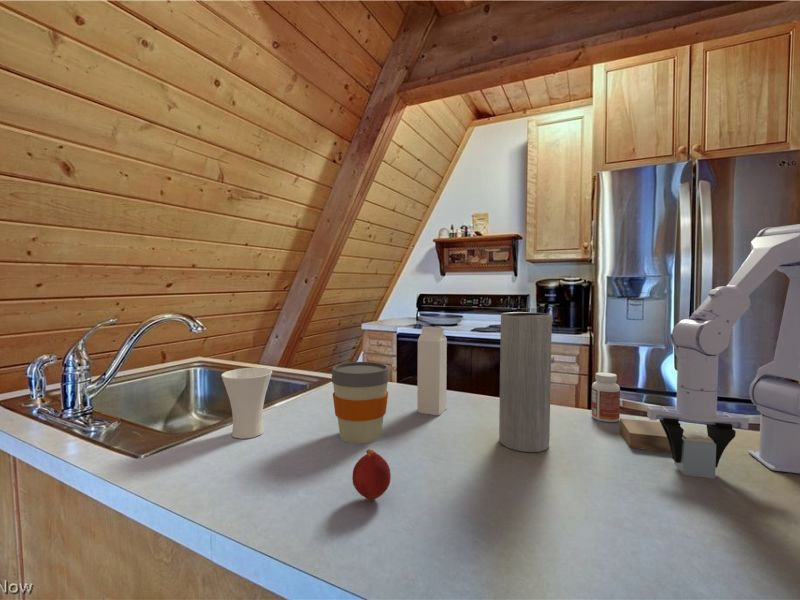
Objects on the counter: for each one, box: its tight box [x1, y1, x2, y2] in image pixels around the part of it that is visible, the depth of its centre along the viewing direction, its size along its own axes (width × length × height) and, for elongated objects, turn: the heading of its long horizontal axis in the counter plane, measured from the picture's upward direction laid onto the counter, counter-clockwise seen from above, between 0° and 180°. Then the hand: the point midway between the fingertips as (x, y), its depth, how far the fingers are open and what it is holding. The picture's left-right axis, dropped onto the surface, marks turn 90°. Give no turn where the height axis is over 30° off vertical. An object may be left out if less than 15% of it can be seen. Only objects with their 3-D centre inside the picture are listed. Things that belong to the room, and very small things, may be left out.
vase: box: [498, 311, 553, 453], centre depth 81 cm, size 10×10×27 cm
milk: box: [416, 326, 448, 417], centre depth 102 cm, size 6×6×22 cm
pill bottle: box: [591, 371, 621, 423], centre depth 96 cm, size 6×6×11 cm
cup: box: [220, 367, 273, 440], centre depth 86 cm, size 10×10×14 cm
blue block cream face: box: [673, 429, 716, 480], centre depth 70 cm, size 5×5×6 cm
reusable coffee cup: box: [331, 361, 390, 444], centre depth 85 cm, size 13×12×15 cm
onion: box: [351, 448, 392, 502], centre depth 60 cm, size 6×6×8 cm
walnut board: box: [619, 417, 671, 453], centre depth 82 cm, size 9×9×3 cm
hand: (694, 462), depth 70 cm, fingers open, 5 cm apart
